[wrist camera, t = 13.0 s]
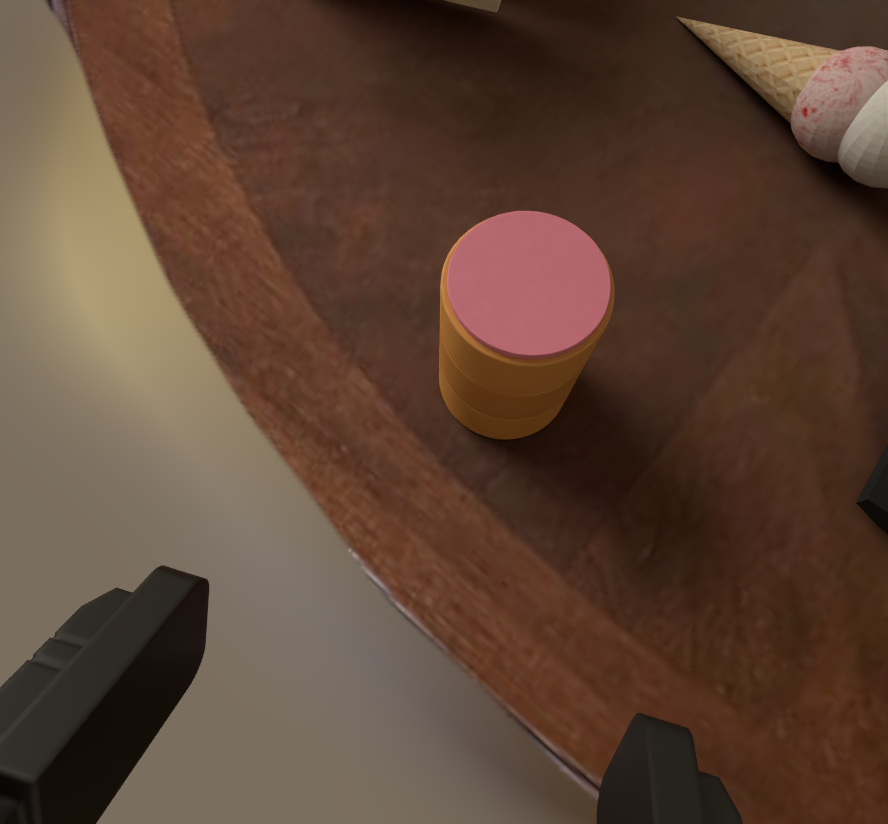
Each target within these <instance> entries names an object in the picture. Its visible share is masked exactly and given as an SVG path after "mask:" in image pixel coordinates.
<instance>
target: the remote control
mask: <svg viewBox="0 0 888 824" xmlns="http://www.w3.org/2000/svg"><path fill="white" fill-rule="evenodd" d="M856 503H857V504H858V505H859V506H860V507H861V508H862V509H863V510H864V512H865V513H866V514H867V515H868V516H869V517H870V518H871V519H872V520H873V521H874V522H875V523H876V524H877V525H878V526H879V527H881V528H882V529H884V530H885V531H887V532H888V445H887V447H886V449H885V451H884V452H883V454H882V456H881V458H880V460H879V462H878V464H877V465H876V467H875V469H874V471H873V473H872V475H871V476H870V478H869V480H868V482H867V484H866V486H865V488H864V489H863V491H862V493H861V495H860V497H859V499H858V501H857V502H856Z"/></svg>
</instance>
